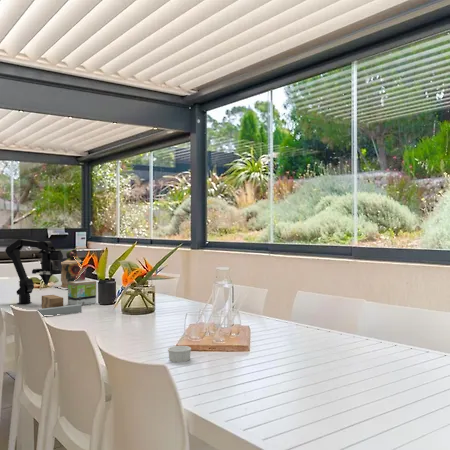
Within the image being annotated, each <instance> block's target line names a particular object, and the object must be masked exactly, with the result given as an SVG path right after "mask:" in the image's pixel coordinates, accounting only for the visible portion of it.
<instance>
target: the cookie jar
mask: <svg viewBox="0 0 450 450" xmlns="http://www.w3.org/2000/svg"><path fill="white" fill-rule="evenodd" d="M65 256H66V259H65V260H64V261H60V265H61V274H60V282H61V284H54V285H53V287H54V288H57V287H58V288H57V289H60V288H61V289H60V290H64V289H65V290H64V291H66V290H68V282H73V281H74V280H75V279H76V276H77V274H78V272H79V270H80V267H79V266H78V264H77V262H76V260H77V261H78V262H79V263H80V264H82V263H83V262H84V261H82V260H81V258H79V256H78V252H77V248H76V247H75V248H73V249H70V250H67V252H66V254H65ZM73 256H74V257H75V259H76V260H75V259H74V257H73ZM86 272H87V268H86V269H85V271H84V272H83V273H82V274H81V276H80V277H79V278H78V279H77V280H76V281H83V280H86Z"/></svg>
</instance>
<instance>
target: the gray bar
mask: <svg viewBox="0 0 450 450" xmlns="http://www.w3.org/2000/svg"><path fill="white" fill-rule="evenodd" d="M82 309H83V305H79V304H77V305H69V304H68V305H63V306H60V307H52V308H43V309H42V308H38V309H37V312H38V311H39V312H40V313H41V314H42V315H43V316H44V315H57V314H65V315H71V314H70V313H73V314H79V313H78V312H80V313H82V312H83V310H82Z"/></svg>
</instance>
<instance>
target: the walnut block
mask: <svg viewBox="0 0 450 450" xmlns="http://www.w3.org/2000/svg"><path fill="white" fill-rule="evenodd" d="M60 306H64V297H63V296H58V295H56V294H47V295H41V309H43V308H52V307H60Z"/></svg>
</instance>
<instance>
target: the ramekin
mask: <svg viewBox="0 0 450 450" xmlns="http://www.w3.org/2000/svg"><path fill="white" fill-rule="evenodd" d="M191 351H192V347H191V346H188V345H173V346H170V347H168V349H167V352H168V359H169V361H170V362H172V363H184V362H188V361H190V359H191Z"/></svg>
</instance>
